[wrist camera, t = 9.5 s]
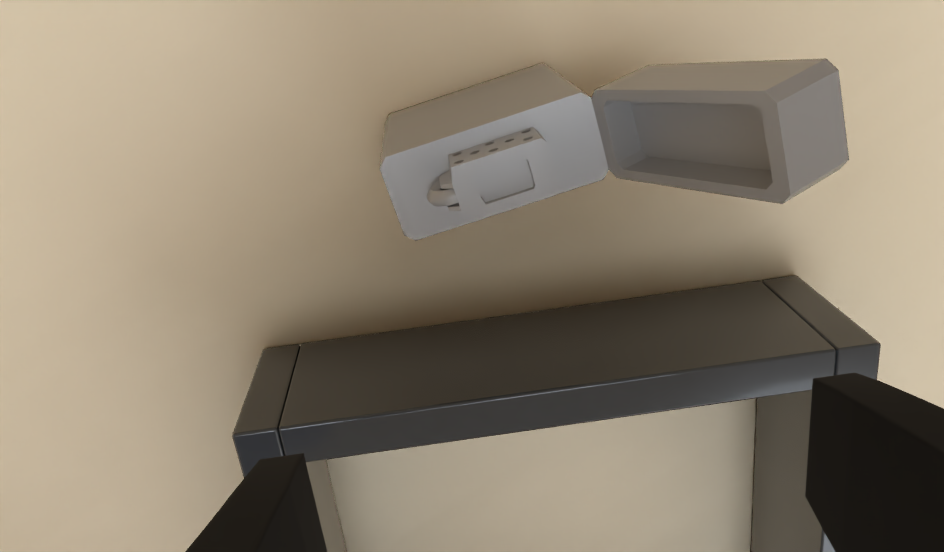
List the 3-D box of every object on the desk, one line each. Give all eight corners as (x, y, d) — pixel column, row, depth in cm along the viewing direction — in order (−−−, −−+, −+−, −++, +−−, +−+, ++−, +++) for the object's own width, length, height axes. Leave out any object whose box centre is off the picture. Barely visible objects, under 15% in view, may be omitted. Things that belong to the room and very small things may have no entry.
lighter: (406, 183, 19) (408, 328, 11) (382, 116, 18) (368, 224, 11) (685, 91, 19) (871, 180, 11) (671, 19, 18) (859, 63, 10)
